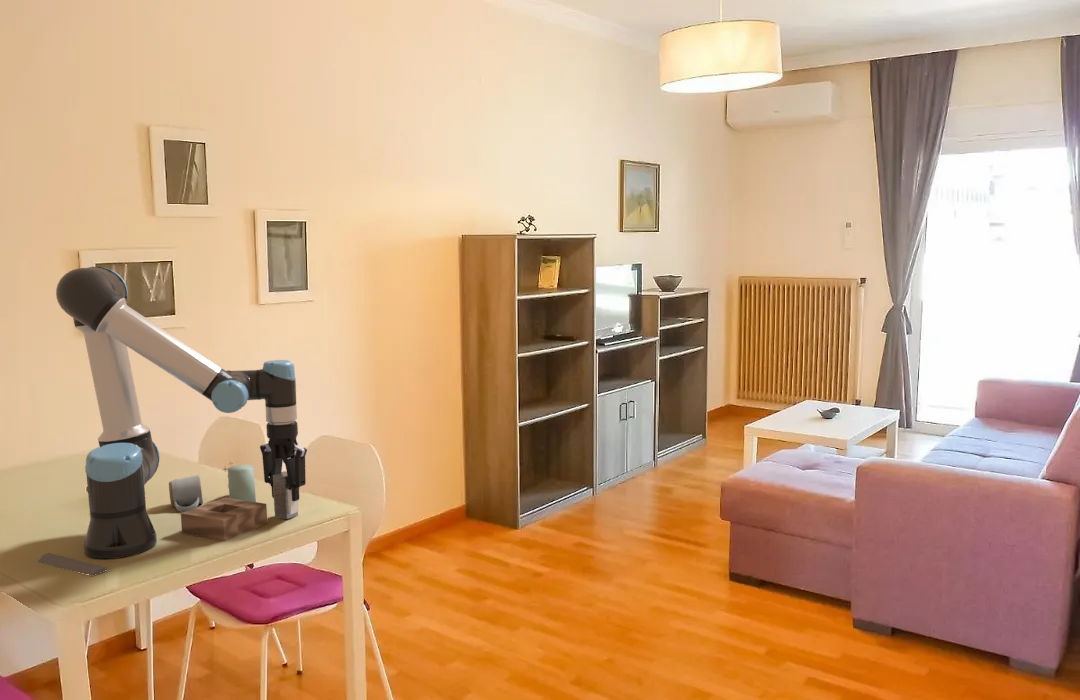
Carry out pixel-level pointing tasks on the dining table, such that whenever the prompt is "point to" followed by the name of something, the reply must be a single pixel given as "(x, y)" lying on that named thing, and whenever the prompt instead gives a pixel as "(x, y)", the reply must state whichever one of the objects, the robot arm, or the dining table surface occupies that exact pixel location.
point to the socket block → (224, 518)
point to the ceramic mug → (186, 493)
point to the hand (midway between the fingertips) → (286, 511)
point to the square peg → (281, 495)
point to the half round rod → (71, 564)
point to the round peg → (242, 482)
